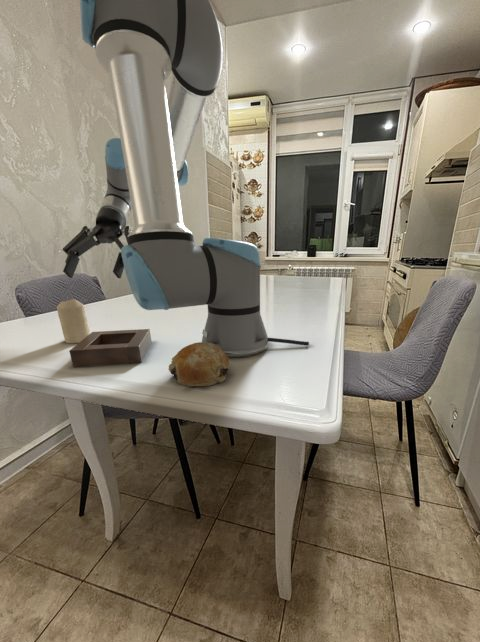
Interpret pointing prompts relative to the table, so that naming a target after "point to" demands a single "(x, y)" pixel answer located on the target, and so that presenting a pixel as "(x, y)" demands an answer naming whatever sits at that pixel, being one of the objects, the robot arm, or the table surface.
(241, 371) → the table surface
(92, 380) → the table surface
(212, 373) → the bread roll
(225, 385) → the table surface
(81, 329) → the candle
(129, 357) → the candle block
